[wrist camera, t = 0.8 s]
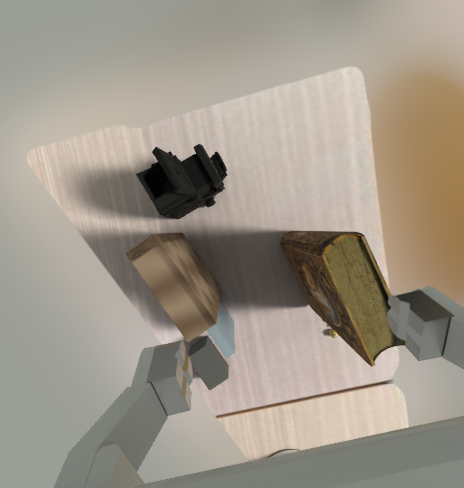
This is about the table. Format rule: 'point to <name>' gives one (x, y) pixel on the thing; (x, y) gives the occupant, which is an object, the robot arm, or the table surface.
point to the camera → (183, 181)
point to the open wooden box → (178, 282)
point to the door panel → (223, 332)
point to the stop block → (208, 363)
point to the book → (343, 287)
